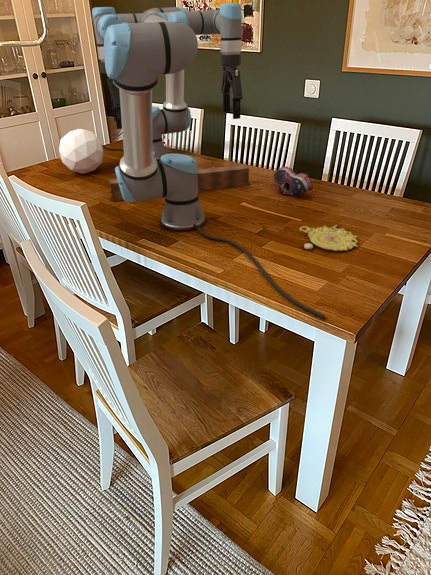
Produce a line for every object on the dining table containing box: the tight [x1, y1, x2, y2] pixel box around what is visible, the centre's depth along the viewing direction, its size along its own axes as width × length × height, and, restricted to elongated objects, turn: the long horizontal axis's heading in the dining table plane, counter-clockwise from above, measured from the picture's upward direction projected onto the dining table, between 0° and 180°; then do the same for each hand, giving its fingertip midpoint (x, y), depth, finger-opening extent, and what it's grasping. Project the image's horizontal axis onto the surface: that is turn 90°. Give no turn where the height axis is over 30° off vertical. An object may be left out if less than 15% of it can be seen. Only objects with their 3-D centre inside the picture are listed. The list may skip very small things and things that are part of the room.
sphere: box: [58, 128, 104, 175], centre depth 202 cm, size 19×20×20 cm
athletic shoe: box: [270, 166, 314, 197], centre depth 175 cm, size 11×22×12 cm
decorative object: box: [299, 224, 359, 252], centre depth 141 cm, size 21×2×20 cm
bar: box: [108, 164, 250, 202], centre depth 180 cm, size 56×5×7 cm, turn 105°
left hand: (231, 115), depth 172 cm, fingers open, 13 cm apart
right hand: (119, 124), depth 163 cm, fingers open, 13 cm apart
